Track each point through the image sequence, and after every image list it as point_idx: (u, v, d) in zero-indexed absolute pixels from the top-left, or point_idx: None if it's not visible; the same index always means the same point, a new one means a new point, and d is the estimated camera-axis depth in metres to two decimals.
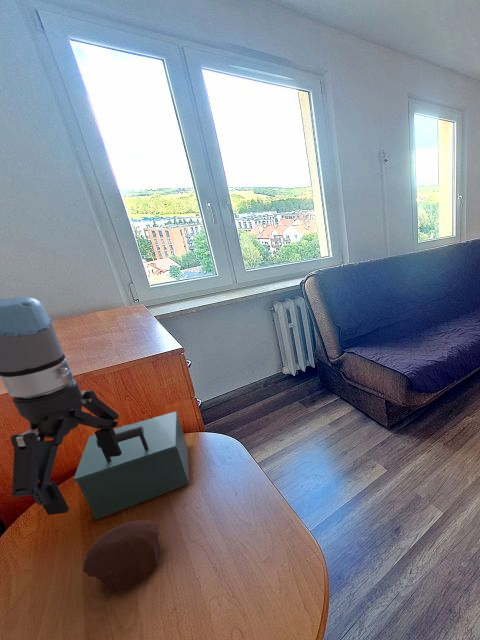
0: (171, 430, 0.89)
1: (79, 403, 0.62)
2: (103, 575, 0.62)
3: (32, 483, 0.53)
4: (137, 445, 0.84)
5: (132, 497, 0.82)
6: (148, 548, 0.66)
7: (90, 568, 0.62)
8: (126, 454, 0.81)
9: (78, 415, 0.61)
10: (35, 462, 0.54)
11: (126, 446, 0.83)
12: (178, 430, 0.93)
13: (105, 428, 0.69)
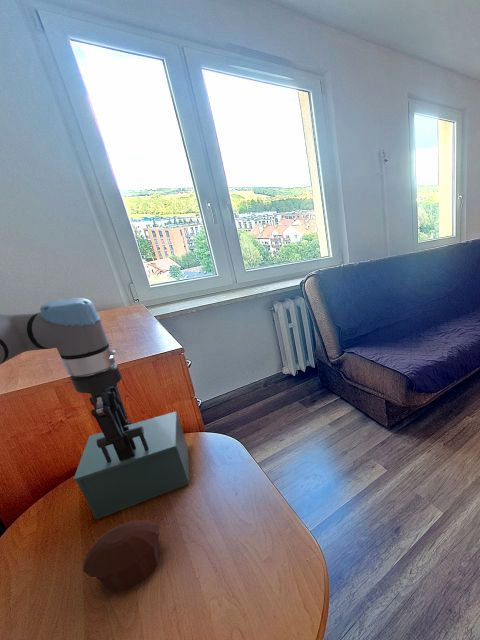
0: (171, 430, 0.89)
1: None
2: (103, 575, 0.62)
3: (120, 433, 0.74)
4: (137, 445, 0.84)
5: (132, 497, 0.82)
6: (148, 548, 0.66)
7: (90, 568, 0.62)
8: None
9: (116, 391, 0.76)
10: (115, 421, 0.73)
11: None
12: (178, 430, 0.93)
13: None
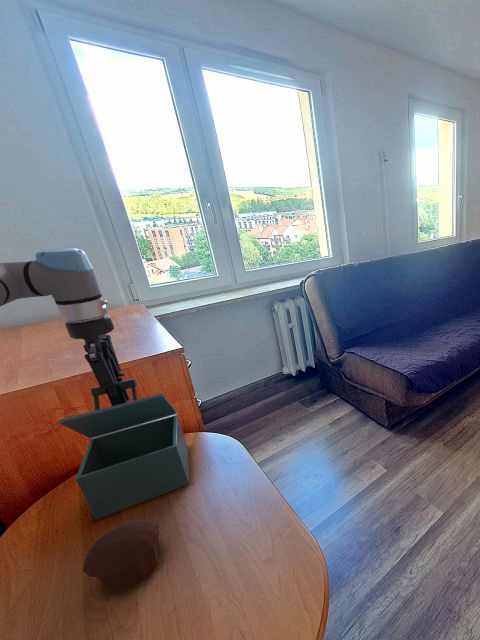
0: None
1: (105, 335, 0.81)
2: (103, 575, 0.62)
3: (112, 380, 0.78)
4: None
5: (132, 497, 0.82)
6: (148, 548, 0.66)
7: (90, 568, 0.62)
8: None
9: (109, 341, 0.80)
10: (107, 368, 0.77)
11: None
12: (178, 430, 0.93)
13: (114, 376, 0.83)
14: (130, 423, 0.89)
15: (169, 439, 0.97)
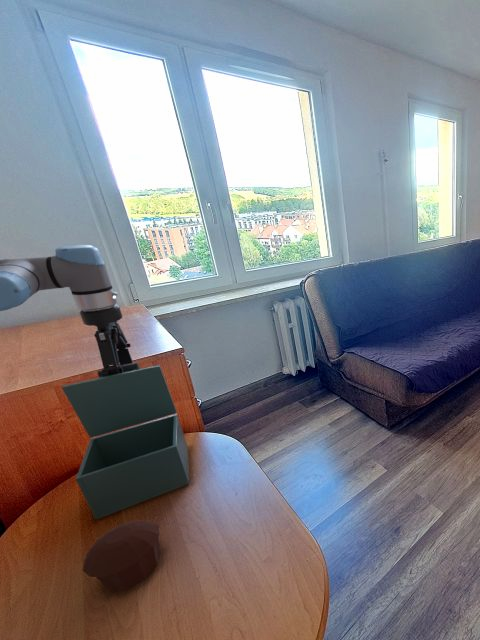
0: None
1: (114, 322, 0.90)
2: (103, 575, 0.62)
3: (116, 362, 0.83)
4: None
5: (132, 497, 0.82)
6: (148, 548, 0.66)
7: (90, 568, 0.62)
8: None
9: (118, 328, 0.90)
10: (113, 350, 0.84)
11: None
12: (178, 430, 0.93)
13: (122, 348, 0.96)
14: (130, 418, 0.90)
15: (169, 439, 0.97)
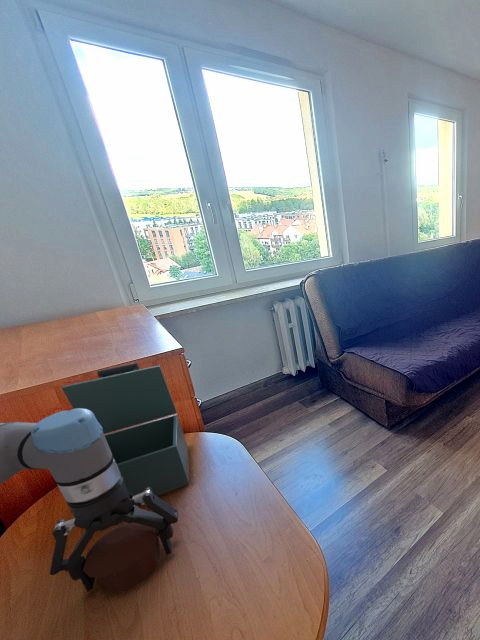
0: None
1: (127, 505, 0.64)
2: (103, 575, 0.62)
3: (53, 567, 0.60)
4: None
5: None
6: (148, 548, 0.66)
7: (90, 568, 0.62)
8: None
9: (114, 519, 0.63)
10: (59, 551, 0.60)
11: None
12: (178, 430, 0.93)
13: None
14: (130, 418, 0.90)
15: (169, 439, 0.97)
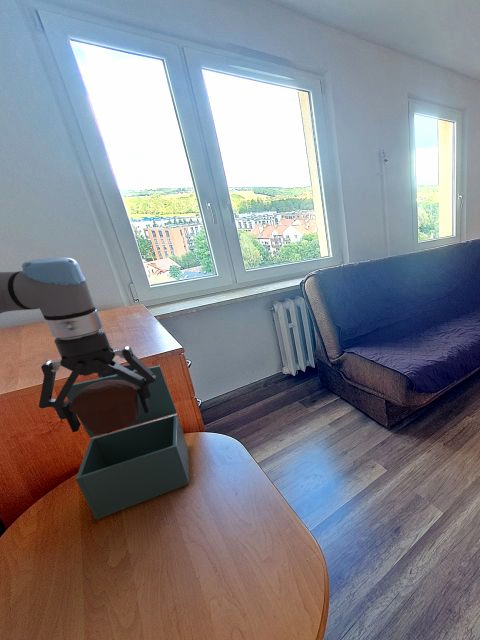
0: None
1: (108, 355, 0.72)
2: (86, 412, 0.70)
3: (42, 400, 0.68)
4: None
5: (132, 497, 0.82)
6: (127, 398, 0.75)
7: (75, 406, 0.70)
8: None
9: (96, 364, 0.71)
10: (47, 386, 0.68)
11: None
12: (178, 430, 0.93)
13: None
14: None
15: (169, 439, 0.97)
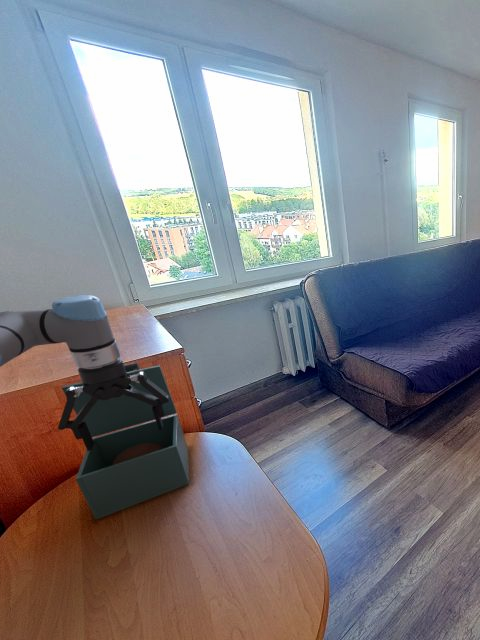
0: None
1: (125, 381, 0.79)
2: None
3: (61, 423, 0.75)
4: None
5: (132, 497, 0.82)
6: None
7: None
8: None
9: (115, 390, 0.78)
10: (68, 410, 0.75)
11: None
12: (178, 430, 0.93)
13: None
14: (130, 418, 0.90)
15: (169, 439, 0.97)
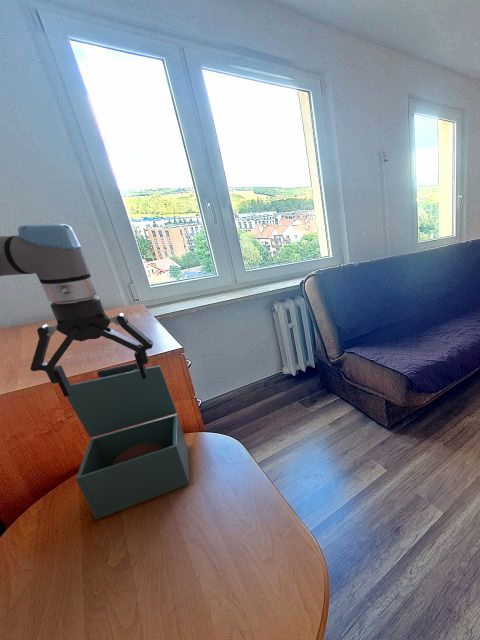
0: None
1: (103, 322, 0.74)
2: None
3: (34, 363, 0.70)
4: None
5: (132, 497, 0.82)
6: None
7: None
8: None
9: (92, 330, 0.73)
10: (40, 349, 0.69)
11: None
12: (178, 430, 0.93)
13: None
14: (130, 418, 0.90)
15: (169, 439, 0.97)
